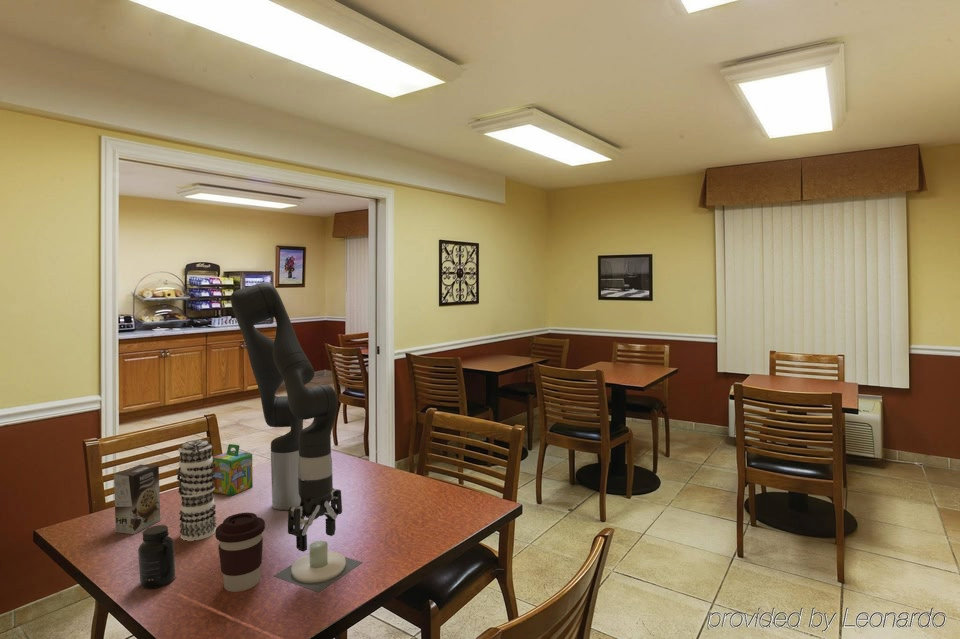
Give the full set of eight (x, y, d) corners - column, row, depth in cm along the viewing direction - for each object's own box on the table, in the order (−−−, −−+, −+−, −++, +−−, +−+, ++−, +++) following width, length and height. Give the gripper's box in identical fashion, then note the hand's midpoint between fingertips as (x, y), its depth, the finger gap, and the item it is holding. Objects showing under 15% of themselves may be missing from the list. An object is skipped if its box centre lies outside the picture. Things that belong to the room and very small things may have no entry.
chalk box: (210, 492, 170) (208, 447, 169) (233, 483, 178) (232, 440, 178) (231, 496, 166) (230, 450, 166) (254, 486, 175) (252, 443, 174)
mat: (319, 551, 131) (319, 548, 131) (362, 564, 124) (362, 562, 124) (273, 578, 119) (273, 575, 119) (318, 594, 112) (318, 592, 112)
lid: (319, 551, 129) (318, 529, 129) (356, 563, 124) (356, 539, 124) (279, 574, 119) (279, 550, 119) (318, 588, 113) (318, 562, 113)
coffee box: (134, 534, 140) (132, 475, 140) (114, 532, 142) (112, 474, 141) (161, 520, 149) (159, 464, 148) (142, 518, 151) (140, 463, 150)
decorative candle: (225, 527, 145) (222, 437, 143) (202, 542, 136) (198, 447, 134) (195, 524, 146) (192, 436, 145) (170, 540, 137) (167, 446, 136)
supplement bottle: (150, 574, 121) (148, 523, 120) (181, 572, 121) (179, 521, 121) (133, 591, 114) (130, 537, 113) (165, 589, 114) (163, 535, 114)
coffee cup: (276, 577, 119) (274, 512, 118) (243, 601, 110) (241, 531, 109) (241, 569, 122) (239, 506, 122) (206, 592, 113) (204, 524, 112)
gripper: (326, 462, 128) (327, 527, 129) (278, 479, 116) (280, 552, 116) (349, 466, 124) (350, 533, 125) (302, 485, 112) (304, 560, 113)
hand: (316, 542), depth 121 cm, fingers open, 8 cm apart
